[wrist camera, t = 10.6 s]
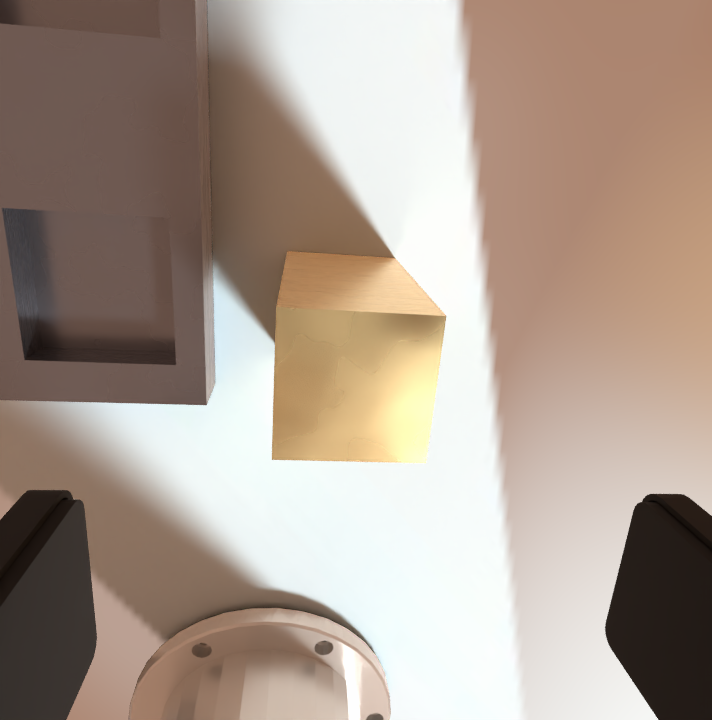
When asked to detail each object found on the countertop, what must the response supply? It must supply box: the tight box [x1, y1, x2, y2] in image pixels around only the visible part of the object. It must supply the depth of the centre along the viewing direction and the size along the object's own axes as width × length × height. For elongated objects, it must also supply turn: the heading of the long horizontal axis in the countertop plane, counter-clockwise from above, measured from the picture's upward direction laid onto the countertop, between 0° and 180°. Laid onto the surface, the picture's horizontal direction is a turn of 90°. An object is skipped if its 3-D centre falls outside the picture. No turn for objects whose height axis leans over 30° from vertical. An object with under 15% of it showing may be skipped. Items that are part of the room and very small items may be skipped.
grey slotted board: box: [0, 0, 215, 405], centre depth 17 cm, size 18×7×2 cm, turn 176°
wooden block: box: [272, 251, 446, 463], centre depth 17 cm, size 4×4×8 cm
